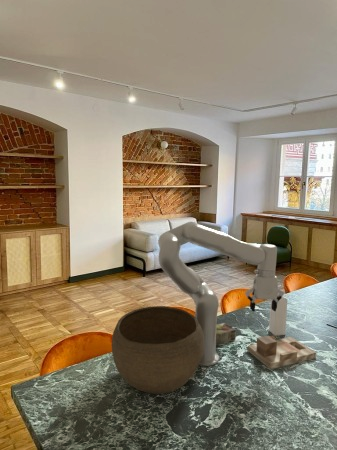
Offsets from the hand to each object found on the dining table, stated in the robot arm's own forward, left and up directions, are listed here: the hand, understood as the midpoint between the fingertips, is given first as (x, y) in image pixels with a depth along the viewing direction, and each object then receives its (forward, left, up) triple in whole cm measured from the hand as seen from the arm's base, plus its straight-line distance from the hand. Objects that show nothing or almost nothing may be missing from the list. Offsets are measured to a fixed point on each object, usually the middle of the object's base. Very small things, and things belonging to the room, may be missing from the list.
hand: (263, 310), depth 148 cm
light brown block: (+1, -3, -19) cm, 19 cm away
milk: (+22, +15, -22) cm, 34 cm away
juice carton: (-12, +20, -22) cm, 32 cm away
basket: (-50, -1, -22) cm, 54 cm away
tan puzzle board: (+9, -3, -21) cm, 23 cm away
